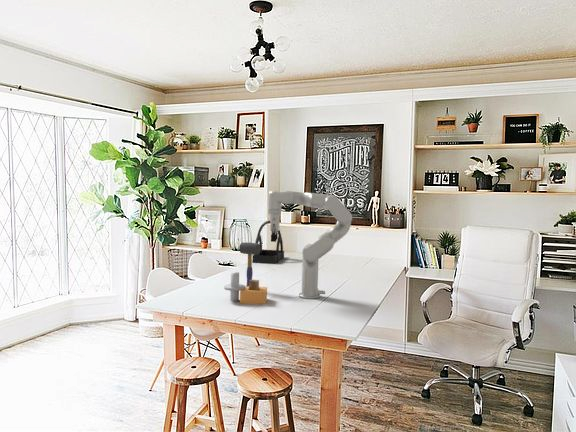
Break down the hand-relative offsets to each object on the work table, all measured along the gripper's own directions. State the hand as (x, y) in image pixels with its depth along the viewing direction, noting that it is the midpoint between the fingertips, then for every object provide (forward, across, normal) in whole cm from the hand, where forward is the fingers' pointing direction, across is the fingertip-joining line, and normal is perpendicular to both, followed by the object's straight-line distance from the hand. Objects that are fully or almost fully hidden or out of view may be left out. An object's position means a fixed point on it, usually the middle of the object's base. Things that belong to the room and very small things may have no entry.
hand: (274, 240), depth 277 cm
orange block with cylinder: (+33, -15, +15) cm, 39 cm away
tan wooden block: (+33, -15, +10) cm, 38 cm away
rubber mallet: (+34, +12, +16) cm, 39 cm away
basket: (+34, +123, +13) cm, 129 cm away
